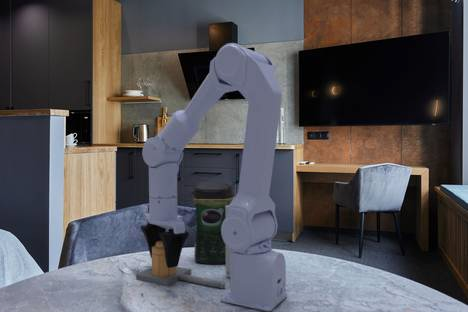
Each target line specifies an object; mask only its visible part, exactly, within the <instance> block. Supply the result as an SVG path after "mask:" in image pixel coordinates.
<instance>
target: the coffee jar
mask: <svg viewBox="0 0 468 312" xmlns="http://www.w3.org/2000/svg"><path fill="white" fill-rule="evenodd" d="M193 190H194V192H193V200H192V201H193V204H194V207H195V212H196V215H195V216H196V218H195V220H196V221H195V223H196V224H195V225H196V227H195V238H194V239H195V240H194V252H193V253H194V255H193V256H194V260H195V261H196V262H197V263H203V264H214V265H215V264H217V265H218V264H226V244H225V242H224V241H223V238H222V234H221V227H222V223H223V221H224V220H225V218H226V212H225V211H226V210H225V206H228V205H230V203H231V202H232V200H233V199H234V198H235V193H234V187H233V183H232V182H228V181H206V182H205V181H203V182H198V183H196V184H195V186H194V188H193Z"/></svg>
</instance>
